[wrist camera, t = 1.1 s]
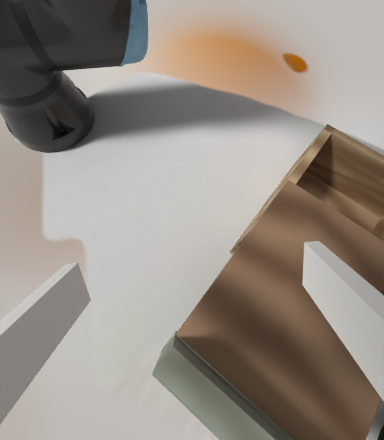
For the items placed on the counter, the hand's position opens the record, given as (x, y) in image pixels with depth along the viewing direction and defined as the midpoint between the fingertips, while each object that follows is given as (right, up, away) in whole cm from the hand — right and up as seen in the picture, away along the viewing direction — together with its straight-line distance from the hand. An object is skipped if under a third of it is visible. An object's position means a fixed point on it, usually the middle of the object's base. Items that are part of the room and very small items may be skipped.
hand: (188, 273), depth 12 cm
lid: (+12, -8, +13) cm, 19 cm away
